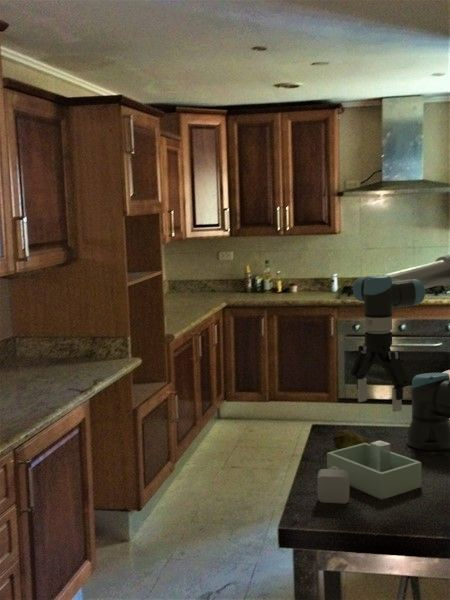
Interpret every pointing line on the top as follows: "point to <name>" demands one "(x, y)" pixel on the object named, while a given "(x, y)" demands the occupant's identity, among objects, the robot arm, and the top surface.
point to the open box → (372, 481)
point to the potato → (348, 439)
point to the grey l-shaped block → (380, 456)
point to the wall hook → (333, 485)
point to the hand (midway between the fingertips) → (379, 405)
